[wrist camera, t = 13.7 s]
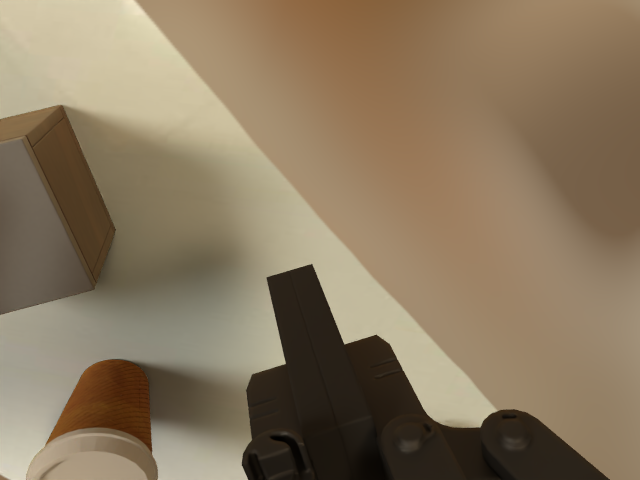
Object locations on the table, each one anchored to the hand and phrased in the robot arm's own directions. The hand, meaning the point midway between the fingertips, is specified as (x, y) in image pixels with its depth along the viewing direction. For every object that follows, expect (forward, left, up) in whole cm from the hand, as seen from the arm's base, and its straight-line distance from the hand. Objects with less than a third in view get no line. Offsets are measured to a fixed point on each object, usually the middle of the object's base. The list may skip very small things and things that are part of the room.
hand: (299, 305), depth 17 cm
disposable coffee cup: (+28, -6, -28) cm, 40 cm away
